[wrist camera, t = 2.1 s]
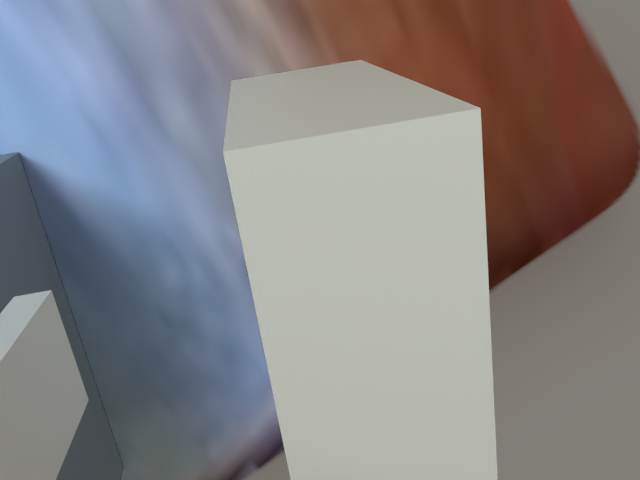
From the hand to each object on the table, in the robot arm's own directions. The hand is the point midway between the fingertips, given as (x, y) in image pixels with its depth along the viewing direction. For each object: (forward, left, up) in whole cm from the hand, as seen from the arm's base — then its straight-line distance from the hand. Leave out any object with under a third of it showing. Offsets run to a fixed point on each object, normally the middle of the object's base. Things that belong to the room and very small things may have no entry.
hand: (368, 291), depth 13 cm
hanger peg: (0, 0, -13) cm, 13 cm away
